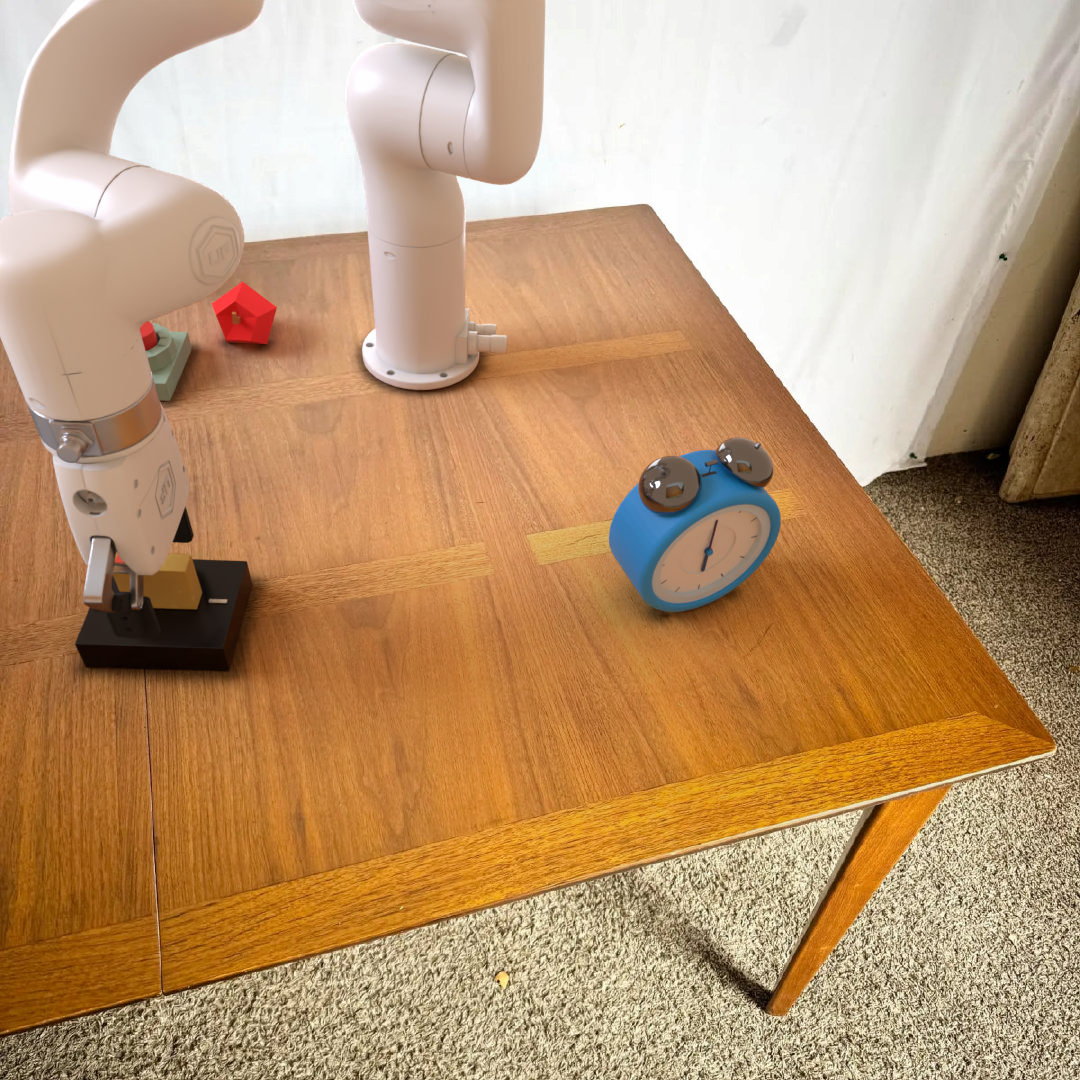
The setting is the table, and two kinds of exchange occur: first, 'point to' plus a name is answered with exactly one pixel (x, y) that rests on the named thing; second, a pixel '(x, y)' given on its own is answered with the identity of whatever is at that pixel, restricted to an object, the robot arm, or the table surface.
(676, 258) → the table surface
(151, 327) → the bell button
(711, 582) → the alarm clock
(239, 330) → the apple
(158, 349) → the block
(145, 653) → the plate
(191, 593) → the lock knob
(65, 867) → the table surface
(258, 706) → the table surface
